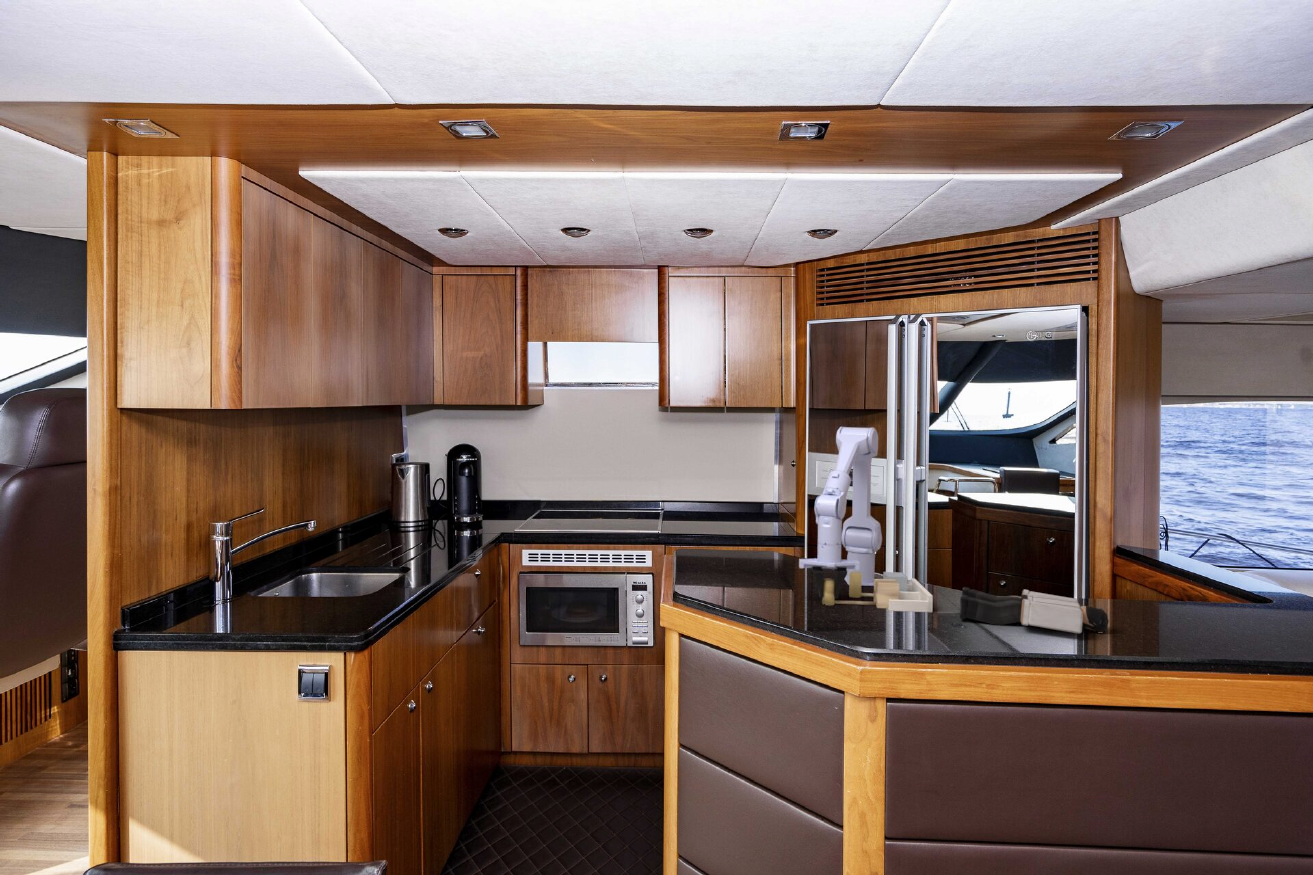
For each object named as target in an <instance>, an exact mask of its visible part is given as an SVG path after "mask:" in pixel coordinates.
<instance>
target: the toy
mask: <svg viewBox="0 0 1313 875" xmlns="http://www.w3.org/2000/svg"><path fill="white" fill-rule="evenodd" d="M961 591H962V592H961V595H960V598H959V599H960V600H959V602H960V603H959V619H962V620H963V619H964V620H965V619H969V620H974V621H979V622H983V623H987V624H990V625H995V626H997V625H999V626H1002V625H1003V626H1004V625H1008V624H1014V623H1021V625H1022V626H1032V627H1033V626H1034V627H1040V628H1045V629H1050V630H1056V631H1062V632H1068V633H1074V634H1081V633H1082V632H1083V629H1085V630H1086V629H1087V630H1089V631H1090V630H1094V632H1096V631H1097V632H1104V631H1105V632H1106V631H1107V630H1108V627H1109V616H1108V614H1107V612H1105V610H1104V609H1103V608H1100V607H1098V608H1097V607H1093V606H1088V605H1080V603H1079V602H1078V599H1077V598H1073V597H1066V596H1060V595H1054V594H1048V593H1042V592H1036V591H1032V590H1031V591H1030V590H1029V589H1023V590H1022V591H1021V592H1022V593H1021V596H1020V595H1006V596H1005V595H1003V596H1001V595H1000V596H998V595H994V594H991V593H988V592H987V593H986V592H984V591H981V590H976V589H971V588H970V587H967V586H963V587H962V590H961ZM1097 632H1096V633H1097ZM1105 632H1104V633H1105Z"/></svg>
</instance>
